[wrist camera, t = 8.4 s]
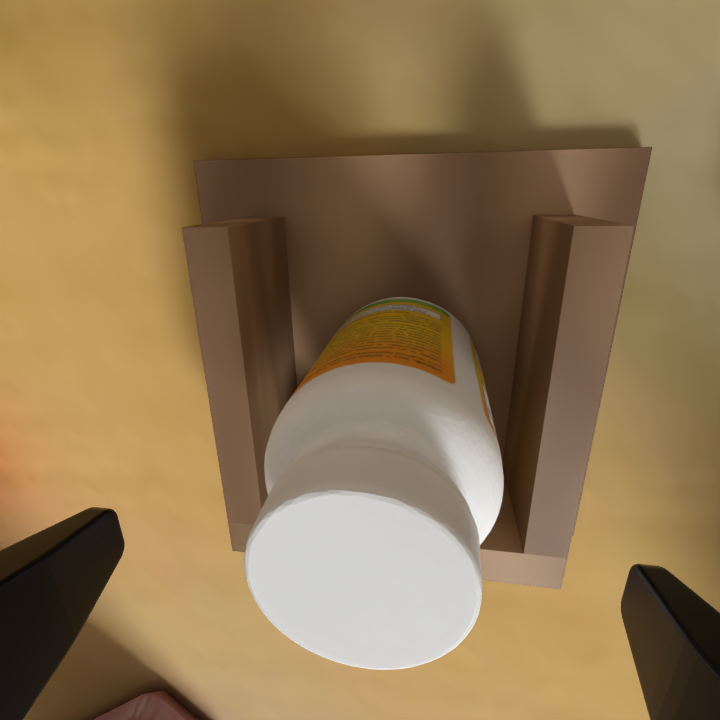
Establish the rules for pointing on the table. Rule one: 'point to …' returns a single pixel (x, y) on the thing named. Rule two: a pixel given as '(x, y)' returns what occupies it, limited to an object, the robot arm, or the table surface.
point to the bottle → (149, 709)
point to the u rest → (429, 283)
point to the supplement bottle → (380, 492)
